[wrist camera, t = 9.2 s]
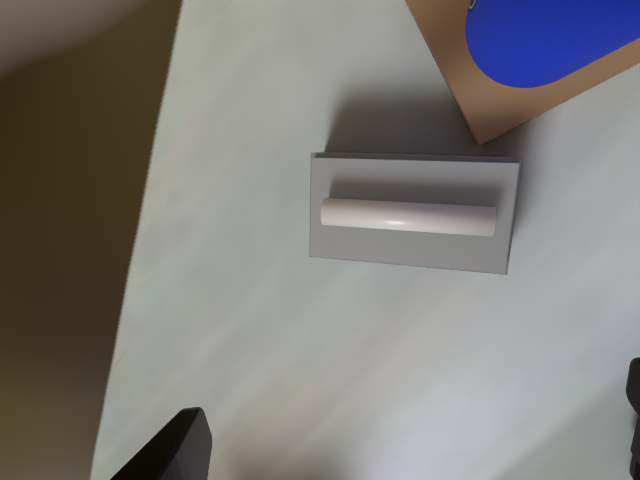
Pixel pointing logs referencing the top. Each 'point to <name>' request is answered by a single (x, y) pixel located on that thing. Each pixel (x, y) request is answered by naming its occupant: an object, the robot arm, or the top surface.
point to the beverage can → (546, 36)
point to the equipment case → (414, 209)
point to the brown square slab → (488, 95)
